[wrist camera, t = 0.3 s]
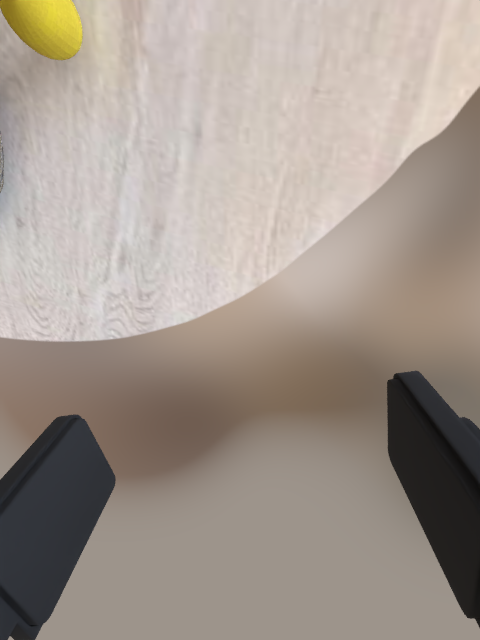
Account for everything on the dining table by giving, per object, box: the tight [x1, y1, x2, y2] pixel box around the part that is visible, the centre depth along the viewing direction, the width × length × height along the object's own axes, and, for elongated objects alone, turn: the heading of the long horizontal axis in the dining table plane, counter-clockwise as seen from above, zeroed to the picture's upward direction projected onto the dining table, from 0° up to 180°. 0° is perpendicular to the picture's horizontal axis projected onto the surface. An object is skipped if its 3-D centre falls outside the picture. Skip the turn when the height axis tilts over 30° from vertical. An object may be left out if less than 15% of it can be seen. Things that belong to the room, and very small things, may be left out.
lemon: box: [0, 0, 82, 60], centre depth 26 cm, size 6×6×8 cm
